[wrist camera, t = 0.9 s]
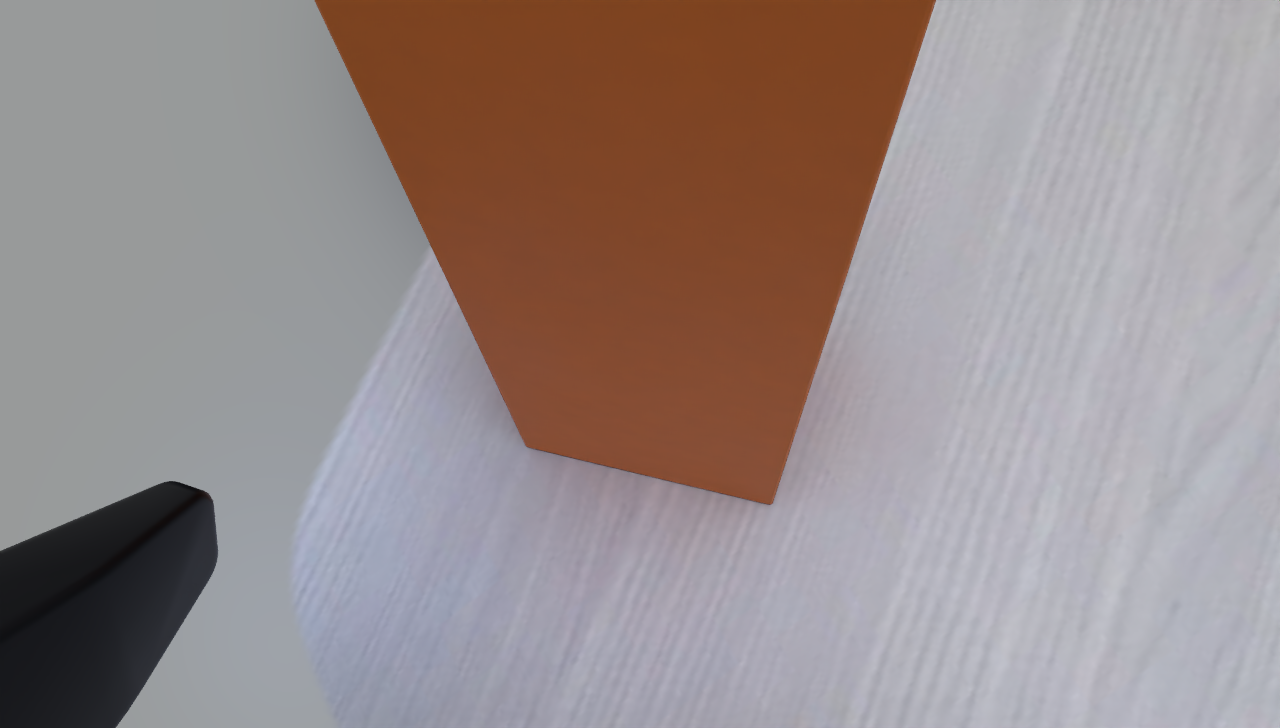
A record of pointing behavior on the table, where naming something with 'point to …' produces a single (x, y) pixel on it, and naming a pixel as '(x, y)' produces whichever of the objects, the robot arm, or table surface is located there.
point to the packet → (641, 203)
